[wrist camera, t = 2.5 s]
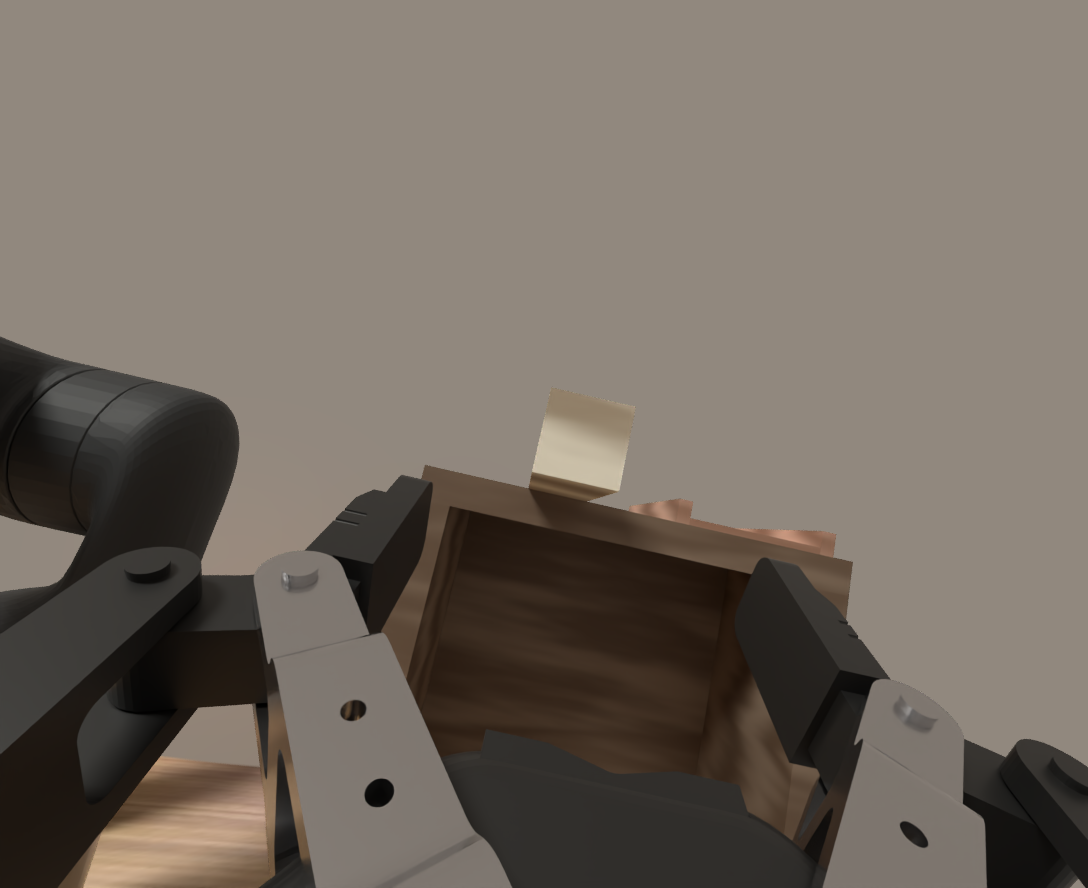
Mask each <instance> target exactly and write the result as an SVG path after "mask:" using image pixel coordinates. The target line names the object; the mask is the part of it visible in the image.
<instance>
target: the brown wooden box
mask: <svg viewBox="0 0 1088 888" xmlns="http://www.w3.org/2000/svg"><path fill="white" fill-rule="evenodd" d="M422 479H423V480H427V481H431V482H432V483H433V492H432V499H431V506H430V512H429V519H428V526H427V532H426V539H425V544H424V548H423V551H422V554H421V557H420V560H419V562H418V564H417V566H416V568H415V570H414V572H413V574H412V575H411V577H410V579H409V581H408V583H407V585H406V586H405V588H404V590H403V592H402V594H401V596H400V597H399V599H398V601H397V603H396V605H395V607H394V608H393V610H392V612H391V614H390V616H389V618H388V619H387V621H386V623H385V625H384V627H383V629H382V630H381V632H383V633H384V634H385V635H386V636H387V638H388V640H389V642H390V644H391V646H392V649H393V651H394V653H395V656H396V658H397V660H398V662H399V665H400V667H401V669H402V672H403V674H404V676H405V678H406V681H407V683H408V685H409V688H410V690H411V692H412V694H413V697H414V699H415V701H416V704H417V706H418V708H419V710H420V713H421V715H422V717H423V720H424V722H425V724H426V726H427V729H428V731H429V733H430V735H431V738H432V740H433V742H434V745H435V747H436V749H437V751H438V754H439V756H440V758H441V757H444V756H448V755H451V754H456V753H462V752H468V751H481V748H482V744H483V740H484V736H485V731H486V729H488V730H493V731H497V732H502V733H506V734H511V735H515V736H520V737H524V738H529V739H533V740H538V741H542V742H547V743H550V744H552V745H554V746H556V747H558V748H560V749H562V750H565V751H567V752H569V753H571V754H573V755H575V756H577V757H579V758H581V759H583V760H585V761H588V762H590V763H592V764H594V765H596V766H598V767H600V768H602V769H604V770H606V771H609V772H612V773H616V774H628V773H651V772H674V771H678V772H682V773H687V774H692V775H696V776H701V777H705V778H710V779H714V780H719V781H723V782H728V783H732V784H737V785H740V789H741V792H742V795H743V799H744V802H745V805H746V808H747V812H749V813H752V814H754V815H755V816H757V817H759V818H760V819H762V820H764V821H765V822H767V823H769V824H770V825H772V826H773V827H775V828H776V829H777V830H779V831H780V832H782V833H783V834H784V835H786V836H787V837H788V838H789V839H791V840H792V841H793V838H794V835H795V832H796V830H797V827H798V824H799V822H800V819H801V816H802V813H803V811H804V808H805V805H806V803H807V800H808V797H809V794H810V792H811V789H812V787H813V785H814V784H815V782H816V780H817V779H818V777H819V775H820V774H819V772H818V770H817V769H815V768H810V767H806V766H801V765H797V764H792V763H789V761H788V759H787V756H786V754H785V752H784V749H783V747H782V744H781V742H780V740H779V737H778V735H777V732H776V730H775V728H774V725H773V723H772V720H771V718H770V716H769V713H768V711H767V709H766V706H765V704H764V701H763V699H762V697H761V694H760V692H759V689H758V687H757V685H756V682H755V680H754V678H753V675H752V673H751V670H750V668H749V666H748V663H747V661H746V658H745V656H744V654H743V651H742V649H741V647H740V644H739V642H738V639H737V637H736V633H735V615H736V611H737V608H738V606H739V603H740V601H741V599H742V596H743V594H744V592H745V589H746V587H747V585H748V582H749V580H750V578H751V575H752V573H753V571H754V568H755V566H756V564H757V562H758V561H759V560H760V559H761V558H763V557H766V558H770V559H775V560H779V561H784V562H788V563H793V564H796V565H798V566H799V567H800V569H801V570H802V571H803V573H804V574H805V576H806V577H807V578H808V580H809V581H810V582H811V584H812V585H813V587H814V588H815V589H816V590H817V591H818V592H820V593H821V594H822V595H823V596H824V597H826V598H827V599H828V600H829V601H830V602H832V603H833V604H834V605H835V606H836V607H837V608H838V610H839V611H840V612H841V614H842V615H843V616H844V618H845V619H846V615H847V606H848V597H849V589H850V580H851V572H852V564H853V562H851V561H846V560H842V559H837V558H833V555H834V546H835V539H836V534H833V533H829V532H824V531H800V530H768V529H767V530H766V529H735V528H731V527H727V526H722V525H718V524H713V523H709V522H704V521H700V520H695V519H691V518H690V516H691V511H692V505H693V502H692V501H688V500H683V499H675V500H668V501H661V502H654V503H647V504H640V505H634V506H630V507H629V511H625V510H621V509H616V508H612V507H608V506H603V505H599V504H595V503H590V502H586V501H581V500H577V499H572V498H568V497H564V496H559V495H555V494H550V493H546V492H542V491H537V490H533V489H528V488H524V487H519V486H515V485H511V484H506V483H502V482H497V481H493V480H488V479H484V478H479V477H475V476H471V475H466V474H462V473H458V472H453V471H449V470H444V469H440V468H436V467H431V466H427V465H425V467H424V471H423V475H422Z"/></svg>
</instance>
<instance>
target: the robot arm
mask: <svg viewBox="0 0 1088 888" xmlns="http://www.w3.org/2000/svg"><path fill="white" fill-rule="evenodd" d="M238 451H239V431H238V426H237V423H236V420H235V417H234V415H233V413H232V412H231V410H230V409H229V407H228V406H227V405H226V404H225V403H223V402H222V401H220V400H219V399H217V398H215V397H213V396H210V395H208V394H205V393H202V392H198V391H195V390H192V389H187V388H183V387H179V386H175V385H170V384H166V383H162V382H157V381H153V380H149V379H145V378H140V377H136V376H132V375H127V374H123V373H119V372H115V371H110V370H106V369H102V368H98V367H93V366H89V365H85V364H80V363H76V362H72V361H67V360H64V359H60V358H57V357H53V356H50V355H47V354H45V353H42V352H39V351H36V350H33V349H30V348H28V347H25V346H23V345H20V344H17V343H15V342H12V341H9V340H7V339H5V338H2V337H0V515H2V516H5V517H8V518H11V519H14V520H18V521H22V522H26V523H30V524H34V525H39V526H43V527H47V528H51V529H55V530H60V531H65V532H70V533H74V534H79V535H84V536H85V538H84V540H83V542H82V544H81V546H80V548H79V550H78V552H77V554H76V556H75V558H74V560H73V562H72V564H71V565H70V567H69V568H68V570H67V572H66V573H65V575H64V577H63V578H62V579H61V580H60V581H58V582H57V583H55V584H52V585H50V586H46V587H38V588H37V587H36V588H27V589H18V590H10V591H4V592H0V888H83V887H84V884H85V881H86V878H87V874H88V871H89V868H90V865H91V862H92V859H93V856H94V853H95V850H96V847H97V844H98V841H99V838H100V835H101V832H102V830H103V829H104V828H105V826H106V825H107V824H108V823H109V821H110V820H111V819H112V817H113V816H114V815H115V814H116V812H117V811H118V810H119V808H120V807H121V806H122V805H123V803H124V802H125V801H126V799H127V798H128V797H129V796H130V794H131V793H132V792H133V790H134V789H135V788H136V787H137V785H138V784H139V783H140V781H141V780H142V779H143V778H144V776H145V775H146V774H147V773H148V771H149V770H150V769H151V767H152V766H153V765H154V764H155V762H156V761H157V760H158V758H159V757H160V756H161V754H162V753H163V752H164V751H165V749H166V748H167V747H168V746H169V744H170V743H171V742H172V740H173V739H174V738H175V737H176V735H177V734H178V733H179V731H180V730H181V729H182V728H183V726H184V725H185V724H186V722H187V721H188V720H189V719H190V717H191V716H192V715H193V713H194V712H195V711H196V710H197V708H199V707H213V706H228V705H242V704H252V706H253V714H254V722H255V730H256V737H257V746H258V754H259V761H260V769H261V777H262V785H263V793H264V802H265V817H266V838H267V851H268V862H269V871H270V880H268V881H267V882H266V883H264V884H263V885H262V886H261V887H259V888H1070V887H1071V886H1072V885H1073V884H1074V883H1075V882H1076V881H1077V880H1078V879H1079V880H1080V881H1081V882H1082V884H1083V885H1084V886H1085V887H1086V888H1088V767H1087V766H1085V765H1084V764H1082V763H1081V762H1079V761H1078V760H1076V759H1074V758H1073V757H1071V756H1069V755H1068V754H1066V753H1064V752H1062V751H1060V750H1058V749H1056V748H1054V747H1052V746H1050V745H1047V744H1045V743H1042V742H1039V741H1035V740H1031V739H1023V740H1019V741H1018V742H1017V743H1016V745H1015V746H1014V747H1013V749H1012V750H1011V751H1010V752H1009V754H1008V755H1007V756H1006V757H1004V756H1002V755H999V754H997V753H995V752H992V751H990V750H988V749H986V748H983V747H981V746H979V745H977V744H974V743H972V742H970V741H967V740H965V739H964V736H963V733H962V731H961V729H960V727H959V726H958V724H957V723H956V721H955V720H954V719H953V718H952V717H951V716H950V715H949V714H948V712H947V711H945V710H944V709H943V708H942V707H941V706H940V705H939V704H937V703H936V702H935V701H933V700H932V699H930V698H929V697H928V696H926V695H925V694H923V693H921V692H920V691H918V690H916V689H914V688H912V687H910V686H908V685H906V684H903V683H900V682H897V681H894V680H891V679H890V678H889V677H888V675H887V674H886V673H885V671H884V670H883V669H882V668H881V666H880V665H879V663H878V662H877V661H876V660H875V658H874V657H873V655H872V654H871V653H870V651H869V650H868V649H867V647H866V646H865V645H864V643H863V642H862V641H861V640H860V639H858V635H857V634H856V633H855V631H854V630H853V629H852V627H851V626H849V625H847V624H848V622H847V620H846V619H845V618H844V616H843V615H842V614H841V612H840V611H839V610H838V608H837V607H836V606H835V605H834V604H833V603H832V602H830V601H829V600H828V599H827V598H826V597H824V596H823V595H822V594H821V593H820V592H818V591H817V590H816V589H815V588H814V587H813V585H812V584H811V582H810V581H809V580H808V578H807V577H806V576H805V574H804V573H803V571H802V570H801V569H800V567H799V566H798V565H796V564H793V563H788V562H784V561H779V560H775V559H770V558H766V557H763V558H761V559H760V560H759V561H758V562H757V564H756V566H755V568H754V571H753V573H752V575H751V578H750V580H749V582H748V585H747V587H746V589H745V592H744V594H743V596H742V599H741V601H740V603H739V606H738V608H737V611H736V615H735V633H736V637H737V639H738V642H739V644H740V647H741V649H742V651H743V654H744V656H745V658H746V661H747V663H748V666H749V668H750V670H751V673H752V675H753V678H754V680H755V682H756V685H757V687H758V689H759V692H760V694H761V697H762V699H763V701H764V704H765V706H766V709H767V711H768V713H769V716H770V718H771V720H772V723H773V725H774V728H775V730H776V732H777V735H778V737H779V740H780V742H781V744H782V747H783V749H784V752H785V754H786V756H787V759H788V761H789V763H792V764H797V765H801V766H806V767H810V768H815V769H817V770H818V772H819V774H820V775H819V777H818V779H817V780H816V782H815V784H814V785H813V787H812V789H811V792H810V794H809V797H808V800H807V803H806V805H805V808H804V811H803V813H802V816H801V819H800V822H799V824H798V827H797V830H796V832H795V835H794V838H793V841H792V840H791V839H789V838H788V837H787V836H786V835H784V834H783V833H782V832H780V831H779V830H777V829H776V828H775V827H773V826H772V825H770V824H769V823H767V822H765V821H764V820H762V819H760V818H759V817H757V816H755V815H754V814H752V813H749V812H747V808H746V805H745V802H744V799H743V795H742V792H741V789H740V785H737V784H732V783H728V782H723V781H719V780H714V779H710V778H705V777H701V776H696V775H692V774H687V773H682V772H678V771H674V772H651V773H628V774H616V773H612V772H609V771H606V770H604V769H602V768H600V767H598V766H596V765H594V764H592V763H590V762H588V761H585V760H583V759H581V758H579V757H577V756H575V755H573V754H571V753H569V752H567V751H565V750H562V749H560V748H558V747H556V746H554V745H552V744H550V743H547V742H542V741H538V740H533V739H529V738H524V737H520V736H515V735H511V734H506V733H502V732H497V731H493V730H488V729H486V731H485V736H484V740H483V744H482V748H481V751H468V752H462V753H456V754H451V755H448V756H444V757H441V758H440V756H439V754H438V751H437V749H436V747H435V745H434V742H433V740H432V738H431V735H430V733H429V731H428V729H427V726H426V724H425V722H424V720H423V717H422V715H421V713H420V710H419V708H418V706H417V704H416V701H415V699H414V697H413V694H412V692H411V690H410V688H409V685H408V683H407V681H406V678H405V676H404V674H403V672H402V669H401V667H400V665H399V662H398V660H397V658H396V656H395V653H394V651H393V649H392V646H391V644H390V642H389V640H388V638H387V636H386V635H385V634H384V633H383V632H381V630H382V629H383V627H384V625H385V623H386V621H387V619H388V618H389V616H390V614H391V612H392V610H393V608H394V607H395V605H396V603H397V601H398V599H399V597H400V596H401V594H402V592H403V590H404V588H405V586H406V585H407V583H408V581H409V579H410V577H411V575H412V574H413V572H414V570H415V568H416V566H417V564H418V562H419V560H420V557H421V554H422V551H423V548H424V544H425V539H426V532H427V526H428V519H429V512H430V506H431V499H432V492H433V483H432V482H431V481H427V480H423V479H418V478H414V477H409V476H404V475H401V476H400V477H399V478H398V479H397V480H396V481H395V483H394V484H393V485H392V486H391V487H390V488H389V490H388V491H387V492H383V491H378V490H372V491H370V492H367V493H365V494H363V495H360V496H358V497H356V498H355V499H354V500H353V501H352V502H351V503H350V504H349V505H348V506H347V507H346V508H345V511H342V512H341V513H340V514H339V515H338V517H337V518H336V520H335V521H333V522H332V523H331V524H330V525H329V526H328V527H327V528H326V529H325V530H324V531H323V532H322V533H321V534H320V535H319V536H318V537H317V538H316V539H315V540H314V541H313V542H312V544H310V546H309V547H308V548H307V549H306V550H305V551H293V552H288V553H284V554H281V555H278V556H275V557H273V558H271V559H269V560H267V561H266V562H264V563H263V564H262V565H261V566H260V567H259V568H258V569H257V571H256V572H255V575H242V576H230V575H228V576H227V575H226V576H225V575H222V576H221V575H220V576H219V575H202V573H201V572H202V569H201V560H202V558H203V555H204V552H205V550H206V547H207V545H208V542H209V540H210V537H211V535H212V532H213V530H214V527H215V525H216V522H217V520H218V517H219V515H220V512H221V510H222V507H223V505H224V502H225V499H226V497H227V494H228V491H229V488H230V486H231V483H232V479H233V476H234V472H235V469H236V465H237V458H238Z"/></svg>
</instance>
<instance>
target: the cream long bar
mask: <svg viewBox="0 0 1088 888" xmlns="http://www.w3.org/2000/svg"><path fill="white" fill-rule="evenodd" d="M635 408H636V407H634V406H630V405H626V404H621V403H617V402H612V401H608V400H603V399H599V398H595V397H590V396H586V395H582V394H577V393H573V392H569V391H564V390H560V389H556V388H551V391H550V396H549V400H548V404H547V409H546V414H545V418H544V422H543V426H542V431H541V435H540V440H539V444H538V449H537V453H536V457H535V462H534V466H533V470H532V475H531V479H530V484H529V489H533V490H537V491H542V492H546V493H550V494H555V495H559V496H564V497H568V498H572V499H577V500H581V501H586V502H587V501H590V500H593V499H596V498H600V497H603V496H606V495H609V494H613V493H616V492H619V489H620V484H621V479H622V474H623V469H624V463H625V458H626V454H627V449H628V443H629V438H630V433H631V428H632V423H633V418H634V413H635Z"/></svg>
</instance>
